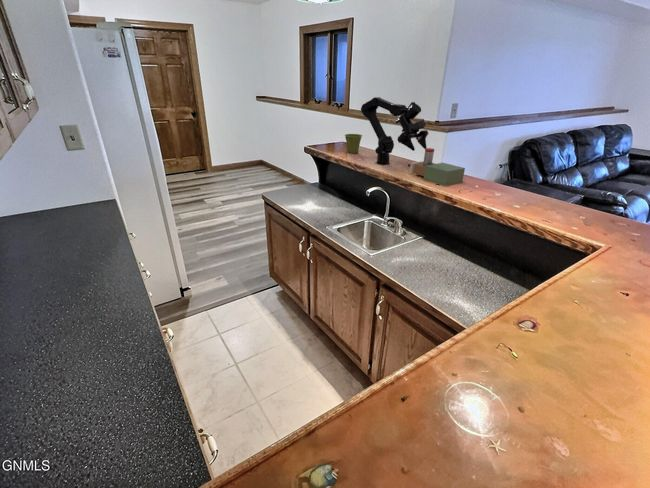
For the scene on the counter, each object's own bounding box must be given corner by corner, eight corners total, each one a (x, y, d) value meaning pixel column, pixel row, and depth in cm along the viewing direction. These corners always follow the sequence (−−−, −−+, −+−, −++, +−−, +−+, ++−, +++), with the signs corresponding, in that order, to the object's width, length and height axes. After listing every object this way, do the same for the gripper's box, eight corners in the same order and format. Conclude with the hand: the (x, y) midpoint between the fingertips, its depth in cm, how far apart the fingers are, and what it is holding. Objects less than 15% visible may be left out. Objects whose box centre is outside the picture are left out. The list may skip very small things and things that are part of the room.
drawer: (403, 171, 189) (404, 161, 187) (418, 168, 196) (420, 159, 193) (427, 178, 177) (429, 168, 175) (443, 175, 184) (445, 165, 181)
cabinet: (423, 179, 179) (425, 165, 176) (440, 175, 186) (442, 162, 183) (445, 185, 169) (447, 171, 166) (462, 182, 176) (465, 168, 173)
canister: (420, 171, 184) (423, 148, 179) (424, 170, 187) (428, 147, 182) (427, 173, 182) (431, 150, 176) (432, 172, 184) (436, 149, 179)
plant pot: (342, 150, 241) (343, 133, 236) (359, 150, 242) (360, 133, 237) (345, 154, 230) (346, 136, 225) (362, 154, 232) (364, 136, 227)
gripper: (404, 115, 176) (418, 141, 173) (428, 114, 186) (442, 138, 183) (391, 130, 185) (404, 154, 182) (415, 127, 195) (427, 151, 192)
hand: (420, 149), depth 184 cm, fingers open, 9 cm apart
